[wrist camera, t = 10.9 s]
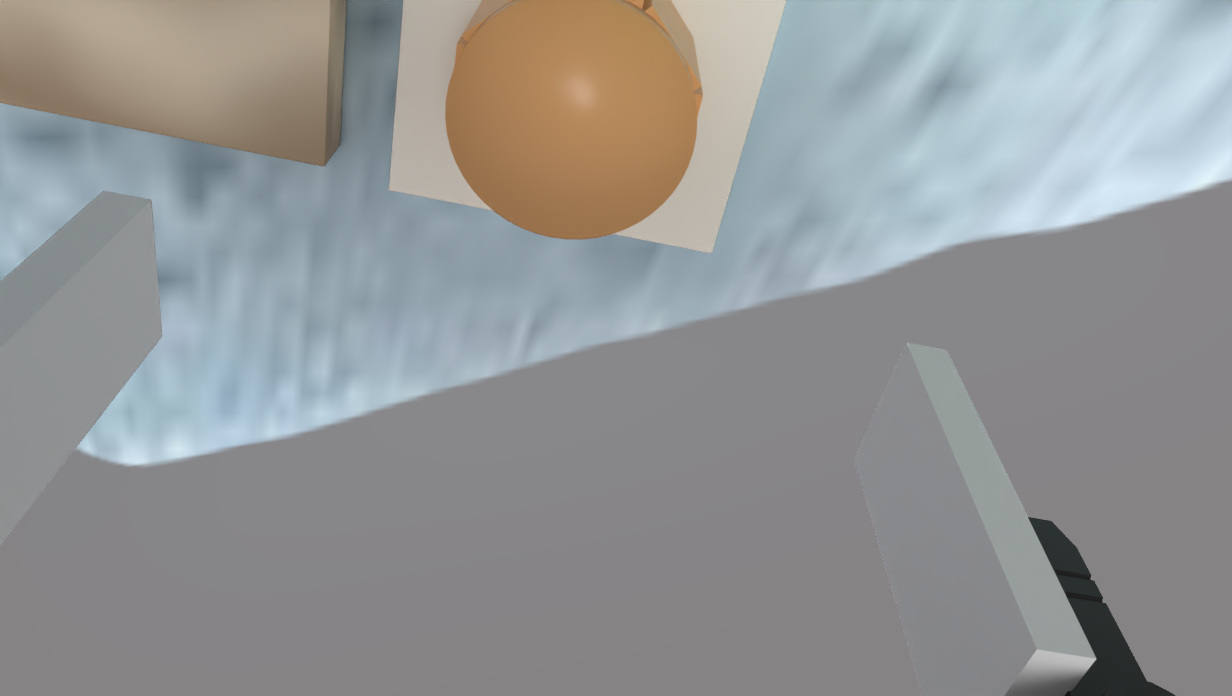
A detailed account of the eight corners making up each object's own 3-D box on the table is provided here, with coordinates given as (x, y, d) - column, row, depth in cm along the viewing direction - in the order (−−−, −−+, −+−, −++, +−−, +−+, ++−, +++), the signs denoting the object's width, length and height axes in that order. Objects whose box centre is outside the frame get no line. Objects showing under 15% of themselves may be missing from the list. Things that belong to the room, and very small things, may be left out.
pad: (422, -187, 28) (417, -185, 27) (809, -97, 29) (813, -92, 28) (393, 181, 34) (388, 190, 34) (710, 243, 35) (711, 253, 35)
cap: (491, -73, 29) (460, -32, 24) (711, -24, 29) (726, 27, 24) (465, 140, 33) (433, 214, 28) (661, 179, 33) (665, 259, 28)
